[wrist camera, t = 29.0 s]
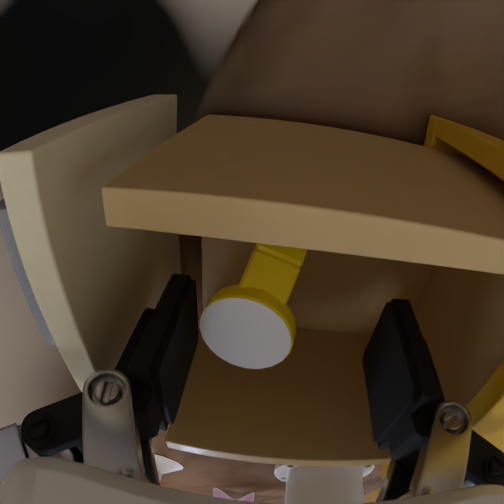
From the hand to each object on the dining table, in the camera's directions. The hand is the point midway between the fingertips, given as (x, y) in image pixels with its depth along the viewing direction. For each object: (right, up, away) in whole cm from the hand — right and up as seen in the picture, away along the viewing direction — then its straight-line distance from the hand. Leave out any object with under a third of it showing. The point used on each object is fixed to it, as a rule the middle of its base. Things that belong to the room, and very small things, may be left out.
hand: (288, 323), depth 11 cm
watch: (0, +3, +4) cm, 5 cm away
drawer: (-1, +3, +5) cm, 6 cm away
